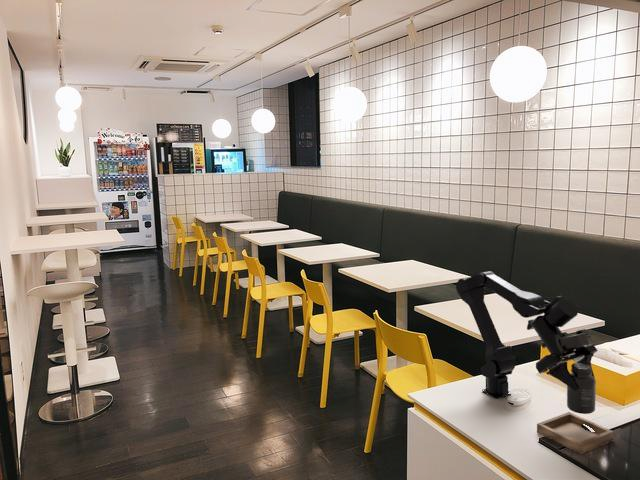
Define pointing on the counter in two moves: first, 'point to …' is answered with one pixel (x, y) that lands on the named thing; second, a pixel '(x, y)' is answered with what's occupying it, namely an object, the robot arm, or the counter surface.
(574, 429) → the walnut tray
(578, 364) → the supplement bottle
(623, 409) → the counter surface
